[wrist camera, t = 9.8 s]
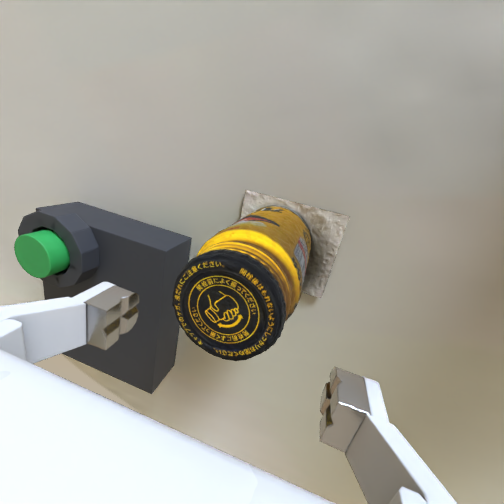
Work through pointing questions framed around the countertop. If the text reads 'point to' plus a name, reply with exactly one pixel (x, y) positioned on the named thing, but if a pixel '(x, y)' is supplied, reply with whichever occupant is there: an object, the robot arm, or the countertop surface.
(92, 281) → the control panel
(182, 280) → the condiment
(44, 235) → the small green piece
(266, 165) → the countertop surface
